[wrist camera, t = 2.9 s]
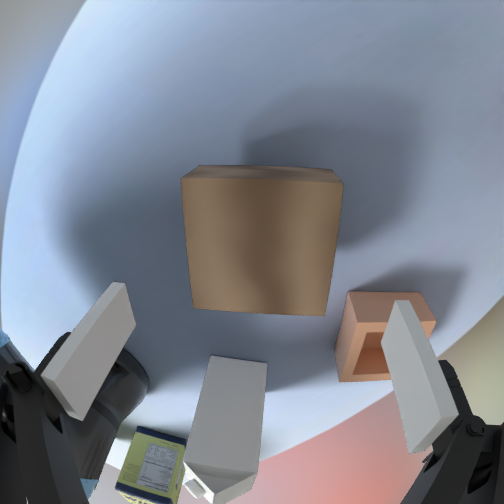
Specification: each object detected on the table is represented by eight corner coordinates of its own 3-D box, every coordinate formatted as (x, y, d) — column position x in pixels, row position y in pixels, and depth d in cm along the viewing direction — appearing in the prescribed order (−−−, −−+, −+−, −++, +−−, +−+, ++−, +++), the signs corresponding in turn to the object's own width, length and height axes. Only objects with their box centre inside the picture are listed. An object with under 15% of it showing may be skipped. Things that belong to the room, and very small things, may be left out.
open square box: (334, 350, 33) (339, 382, 29) (348, 291, 29) (357, 322, 25) (398, 348, 32) (409, 377, 28) (420, 292, 28) (436, 320, 24)
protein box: (146, 451, 55) (129, 503, 41) (136, 424, 48) (113, 487, 34) (188, 463, 55) (174, 517, 41) (186, 438, 48) (169, 506, 34)
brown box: (206, 277, 26) (193, 308, 22) (199, 165, 22) (180, 178, 18) (319, 283, 26) (324, 316, 22) (331, 169, 21) (343, 183, 17)
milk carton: (267, 361, 35) (254, 508, 18) (261, 393, 38) (247, 519, 21) (210, 353, 35) (173, 495, 18) (210, 386, 38) (181, 508, 21)
